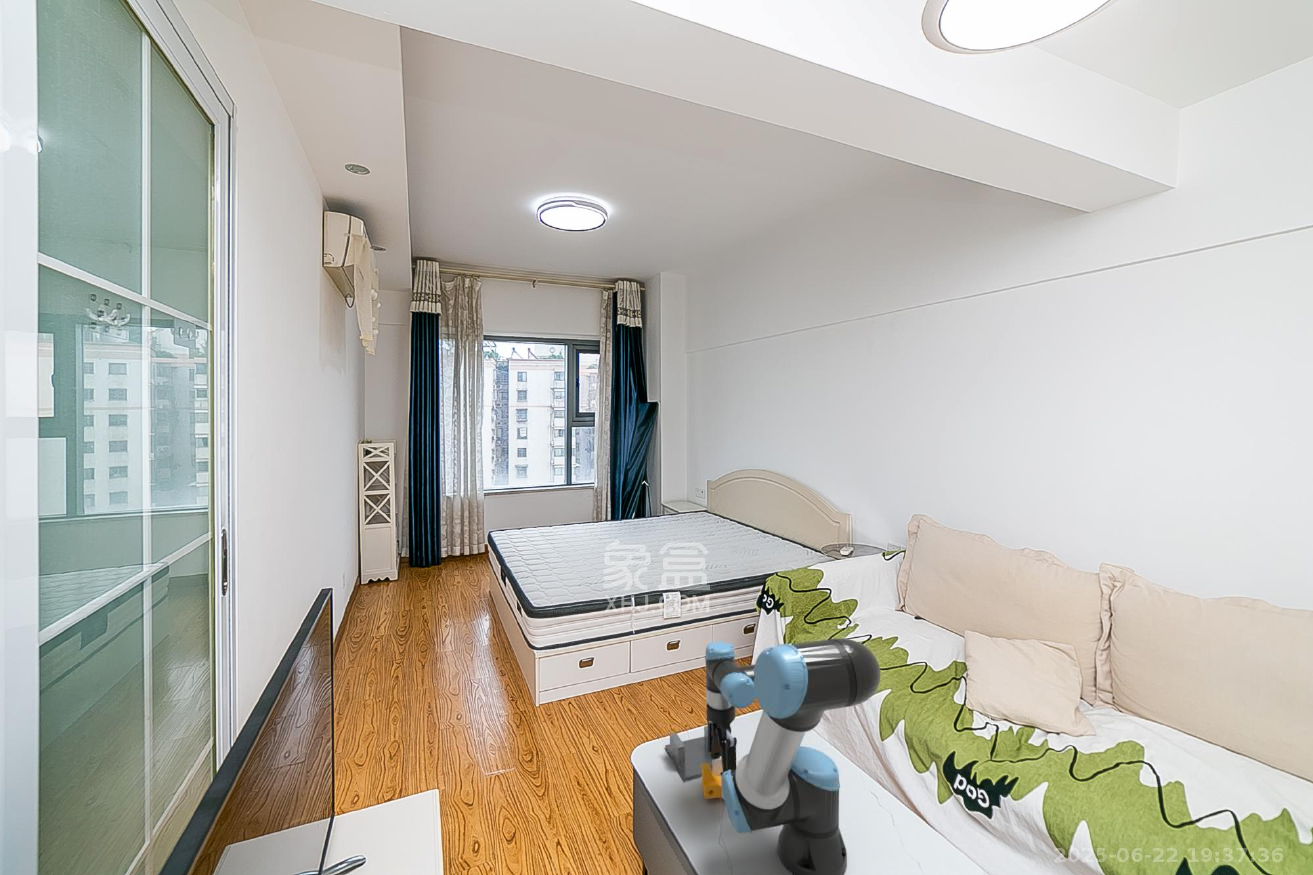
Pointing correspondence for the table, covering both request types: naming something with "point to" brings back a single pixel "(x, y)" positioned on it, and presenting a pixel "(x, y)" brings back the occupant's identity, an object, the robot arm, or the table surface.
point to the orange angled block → (711, 783)
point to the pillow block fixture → (689, 755)
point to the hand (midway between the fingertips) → (722, 789)
